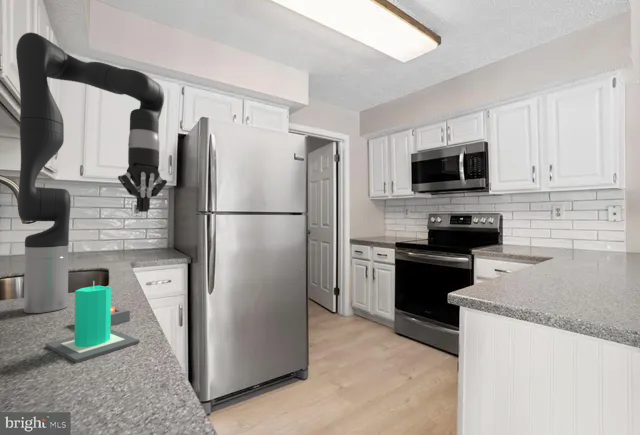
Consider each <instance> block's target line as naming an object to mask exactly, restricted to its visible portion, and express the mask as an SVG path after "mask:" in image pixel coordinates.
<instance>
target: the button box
mask: <svg viewBox="0 0 640 435" xmlns="http://www.w3.org/2000/svg"><path fill="white" fill-rule="evenodd" d="M112 306H113V307H115V312H114V313H111V326H114V325H118V324H119V325H120V324H122V323H128V322H129V321H130V320H131V311H130V309H125V308H122V307H119V306H116V305H112Z"/></svg>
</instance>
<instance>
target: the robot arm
mask: <svg viewBox="0 0 640 435" xmlns="http://www.w3.org/2000/svg"><path fill="white" fill-rule="evenodd" d="M15 49H16V50H15V54H16V58H15V59H16V65H17V72H18V82H19V95H20V96H19V100H20V102H19V103H20V113H19V115H20V117H19V139H20V141H19V144H20V145H19V146H20V171H19V180H18V181H19V184H18V186H19V187H18V195H17V212H18V213H17V214H18V216H19V218H20V219H21V220H22V221H24V222H54V223H53V225H52V226H51V227H49V228H47V229H45V230H43V231H41V232H37V233H33V234H30V235H27V236H25V240H24V273H23V274H24V275H23V276H24V280H23V281H24V282H23V283H24V284H23V285H24V286H23V289H24V290H23V312H24V313H27V314H42V313H49V312H54V311H55V312H56V311H59V310H62V309H65V308H67V307H68V305H69V304H68V302H69V297H68V296H69V242H70V241H69V238H70V237H69V236H70V216H71V202H72V201H71V194H70V192H69V191H68V190H67V188H66V189H65V188H58V187H57V188H56V187H40V186H39V187H38V186H36V181H37V178H38V176H39V174H40V173H41V172H42V170H43V169H44V167H45V165H47V163H48V162H50V161H51V160H52V158H53V157H54V156H56V154H57V153H58V152H59V150H60V149H61V148H62V147H63V146H64V145H63V144H64V136H65V134H64V133H65V132H64V130H65V129H64V128H65V125H64V119H63V116H62V112H61V110H60V108H59V106H58V104H57V103H56V100H55V98H54V96H53V94H52V92H51V90H50V86H49V82H48V78H49V79H53V80H59V81H60V80H61V81H69V82H74V83H75V82H76V83H80V84H84V85H88V86H91V87H94V88H98V89H100V90H104V91H106V92H110V93H111V94H116V95H120V96H121V95H122V96H123V95H126V96H128V97H131V98H133V99H135V100H137V101H139V102H140V103H139V104H140V105H139V108H135V109H133V110H132V111H131V112H130V115H129V135H128V142H127V146H128V149H127V150H128V151H127V154H128V155H127V162H128V168H127V169H126V172H125V173H123V174H122V175H118V176H117V179H118V181H119V182H120V184H122V186H123V187H124V189H125V190H126V191H127V193H128V194H129V195H130V196H133V197H135V198H136V209H137V210H138V212H139V213H140V212H141V213H148V211H150V208H151V205H150V203H151V198H153V197H157V196H158V195H159V193H161V191H162V190H163V189H164V187H165V186H166V185H167V183H168V181H167V179H163V177H161V176H160V175H161V174H160V171H159V168H160V167H159V166H160V137H159V136H160V135H159V122H160V121H159V120H160V117H161V114H162V110H163V108H164V102H165V92H164V89H163V87H162V86H161V85H160V84H159V83H158V82H157V81H155V80H154V79H152V78H151V77H149V75H147V74H145V73H144V72H141V71H138V70H136V69H130V68H120V67H117V66H114V65H113V64H112V65H111V64H109V63H105V62H101V61H89V62H86V61H83V60H80V59H78V58H76V57H74V56H72V55H70V54H68V53H67V52H65V51H64V49H62V48H61V47H59V46H58V45H57V44H55V43H53V42H52V41H50V40H49V39H47V38H46V37H44V36H42V35H40V34H39V33H35V32H25V33H24V34H22V36H20V37H19V39H18V41H17V43H16V48H15ZM154 184H155V185H154Z"/></svg>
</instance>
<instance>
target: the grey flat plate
mask: <svg viewBox="0 0 640 435" xmlns="http://www.w3.org/2000/svg"><path fill="white" fill-rule="evenodd" d="M74 338H75V335H73V336H72V337H71V336H70V337H68V338H64V339H59V340H55V341H52V342H48V343H46V344H45V347H46V348H48V349H49V350H51V351H53V352H55V353H57V354H59V355H61V356H63V357H64V358H66V359H68V360H69V361H72V362H74V363H75V364H77V363H81V362H84V361H86V360H90V359H93V358H96V357H99V356H103V355H105V354H106V355H107V354H109V353H112V352H115V351H119V350H121V349H125V348H128V347H131V346H134V345H138V344H140V339H139V338H135V337H132V336H131V335H130V336H129V335H128V334H124V333H121V332H119V331H117V330H114V329H111V328H110V340H109V341H107V342H105V343H102V344H99V345H95V346H89V347H78V346H75V345H74Z"/></svg>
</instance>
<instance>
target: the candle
mask: <svg viewBox="0 0 640 435" xmlns="http://www.w3.org/2000/svg"><path fill="white" fill-rule="evenodd" d="M111 306H112V286H104V285H103V286H102V285H95V280H93V284H92V286H87V287H81V288H79V289H76V290H75V291H74V336H75V338H74V345H75V346H78V347H89V346H95V345H99V344H102V343H105V342H107V341H109V340H110V329H111V326H112V325H111Z"/></svg>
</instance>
